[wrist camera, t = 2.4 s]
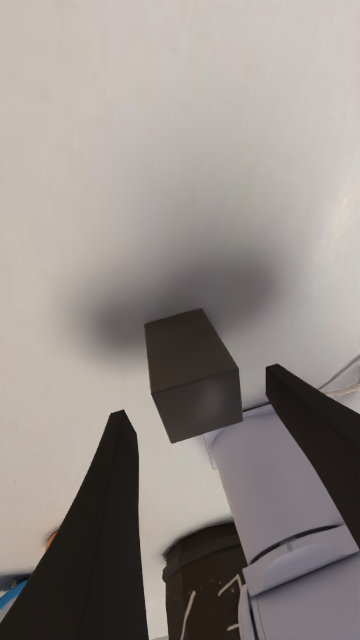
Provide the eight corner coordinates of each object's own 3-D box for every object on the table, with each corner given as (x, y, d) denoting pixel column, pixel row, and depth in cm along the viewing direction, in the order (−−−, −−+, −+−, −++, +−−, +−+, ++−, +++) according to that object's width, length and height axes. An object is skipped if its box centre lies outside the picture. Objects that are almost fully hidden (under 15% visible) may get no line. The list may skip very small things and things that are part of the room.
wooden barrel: (277, 509, 36) (365, 699, 22) (245, 552, 44) (296, 709, 31) (167, 530, 32) (194, 779, 18) (155, 573, 40) (167, 766, 26)
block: (202, 307, 15) (239, 367, 10) (209, 352, 17) (243, 422, 12) (143, 323, 15) (150, 394, 9) (158, 367, 17) (171, 444, 12)
